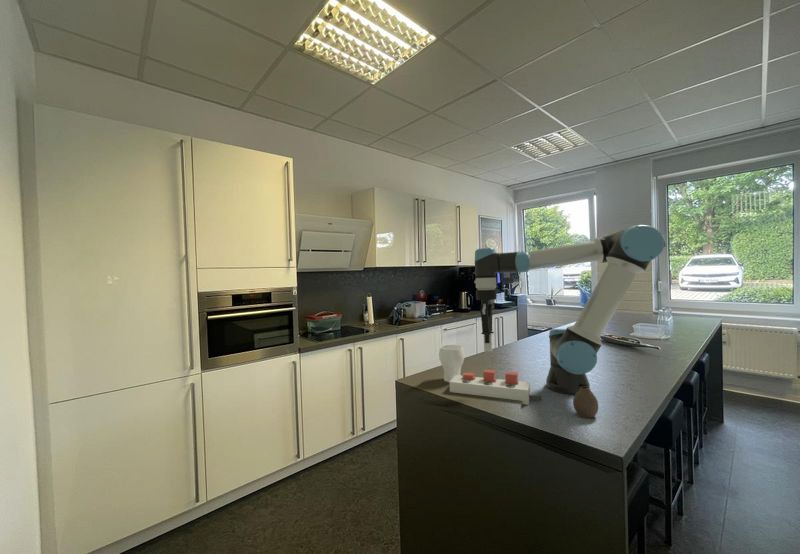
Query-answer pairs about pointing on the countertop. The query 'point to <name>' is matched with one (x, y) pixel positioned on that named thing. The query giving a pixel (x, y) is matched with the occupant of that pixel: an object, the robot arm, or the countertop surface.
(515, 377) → the button
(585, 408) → the vase
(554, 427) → the countertop surface
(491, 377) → the button
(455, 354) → the cup
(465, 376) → the button
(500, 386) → the strip
